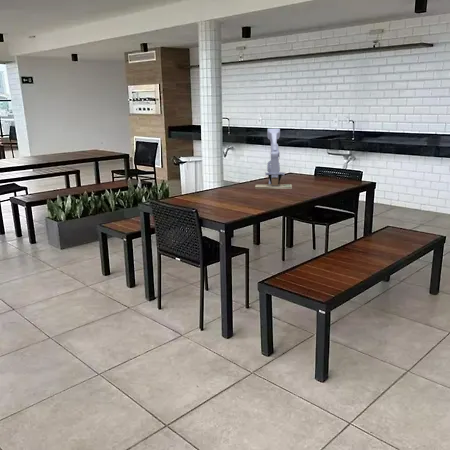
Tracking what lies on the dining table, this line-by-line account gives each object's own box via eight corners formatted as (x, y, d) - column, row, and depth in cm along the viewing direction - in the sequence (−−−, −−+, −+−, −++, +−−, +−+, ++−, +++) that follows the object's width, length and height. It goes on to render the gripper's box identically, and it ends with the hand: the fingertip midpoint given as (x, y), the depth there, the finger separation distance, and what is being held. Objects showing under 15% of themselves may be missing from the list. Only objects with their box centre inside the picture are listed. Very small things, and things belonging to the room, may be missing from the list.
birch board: (255, 186, 374) (255, 184, 374) (291, 186, 371) (291, 184, 371) (255, 189, 364) (255, 187, 364) (291, 188, 362) (292, 186, 361)
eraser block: (271, 184, 371) (271, 177, 369) (278, 184, 370) (278, 177, 369) (271, 186, 364) (271, 178, 363) (278, 186, 364) (278, 178, 362)
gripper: (265, 167, 360) (265, 185, 364) (284, 167, 359) (284, 185, 362) (265, 166, 367) (265, 183, 371) (284, 166, 366) (284, 183, 369)
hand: (274, 184), depth 367 cm, fingers closed on eraser block, 5 cm apart
